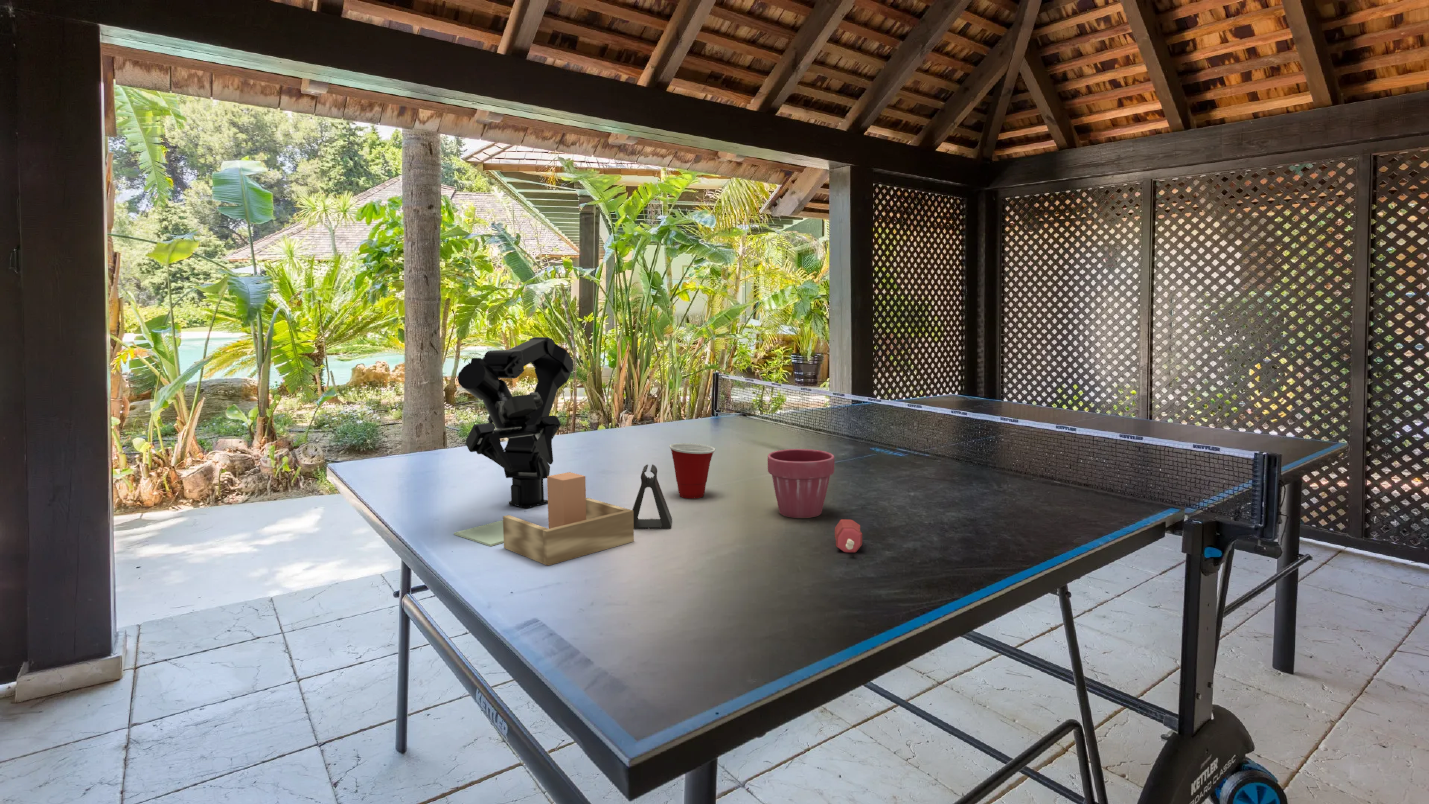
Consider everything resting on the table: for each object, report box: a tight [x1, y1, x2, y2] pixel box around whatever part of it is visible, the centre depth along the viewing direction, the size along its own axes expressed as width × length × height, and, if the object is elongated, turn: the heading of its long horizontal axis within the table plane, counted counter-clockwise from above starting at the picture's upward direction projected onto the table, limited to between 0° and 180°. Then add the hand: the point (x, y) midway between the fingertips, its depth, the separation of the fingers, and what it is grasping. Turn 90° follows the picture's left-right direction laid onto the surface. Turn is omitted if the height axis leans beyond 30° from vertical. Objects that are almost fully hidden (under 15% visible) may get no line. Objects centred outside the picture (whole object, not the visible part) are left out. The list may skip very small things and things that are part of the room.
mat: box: [453, 519, 504, 547], centre depth 151 cm, size 12×12×1 cm
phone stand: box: [631, 463, 673, 530], centre depth 156 cm, size 9×6×12 cm, turn 91°
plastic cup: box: [669, 442, 716, 499], centre depth 180 cm, size 11×11×12 cm
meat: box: [834, 518, 863, 554], centre depth 141 cm, size 12×5×5 cm, turn 173°
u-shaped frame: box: [502, 497, 635, 566], centre depth 143 cm, size 14×19×6 cm
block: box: [546, 471, 587, 529], centre depth 143 cm, size 5×5×13 cm
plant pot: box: [767, 448, 835, 519], centre depth 165 cm, size 14×14×13 cm
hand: (531, 466), depth 150 cm, fingers open, 9 cm apart
